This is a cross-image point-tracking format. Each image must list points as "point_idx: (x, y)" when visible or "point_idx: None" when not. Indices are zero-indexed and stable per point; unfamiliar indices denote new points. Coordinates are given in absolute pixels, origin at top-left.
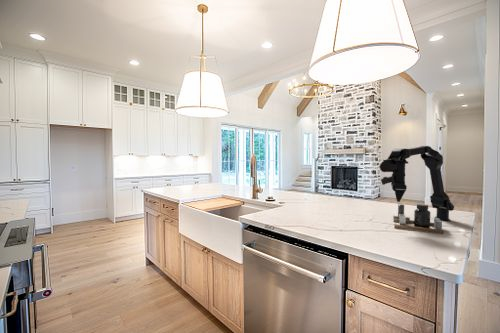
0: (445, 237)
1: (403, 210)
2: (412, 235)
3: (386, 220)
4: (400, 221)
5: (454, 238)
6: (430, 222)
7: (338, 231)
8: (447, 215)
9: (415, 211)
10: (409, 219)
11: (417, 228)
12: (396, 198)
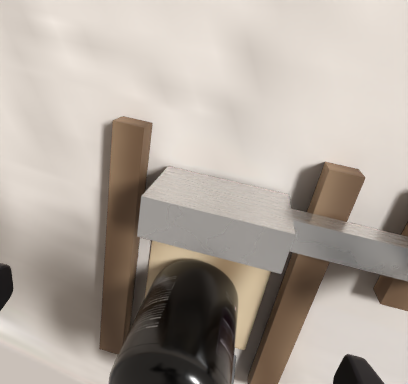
0: (54, 319)
1: None
2: (4, 182)
3: (374, 106)
4: (154, 183)
5: (58, 344)
6: (279, 375)
7: None
8: None
9: (149, 353)
10: (378, 296)
11: (106, 251)
12: (348, 366)
